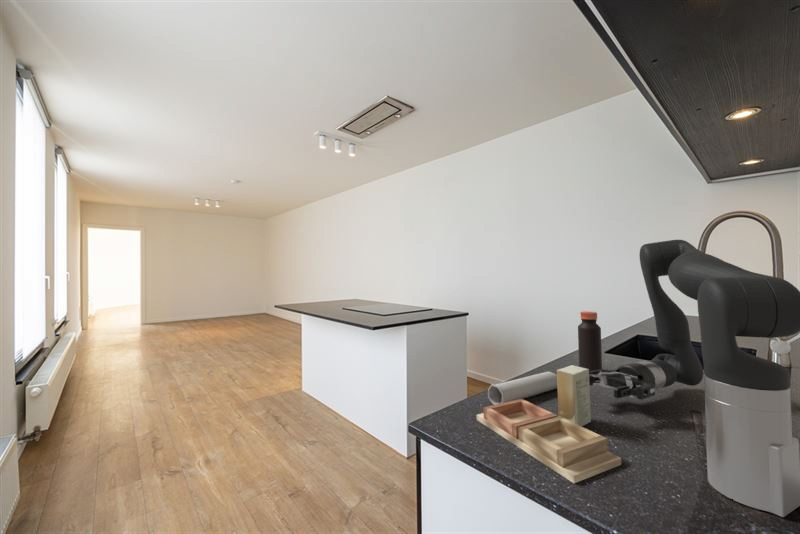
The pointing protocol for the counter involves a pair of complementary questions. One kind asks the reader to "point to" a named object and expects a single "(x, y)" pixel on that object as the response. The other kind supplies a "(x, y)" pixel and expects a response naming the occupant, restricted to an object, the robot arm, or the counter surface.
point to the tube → (522, 387)
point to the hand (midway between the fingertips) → (597, 387)
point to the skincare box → (574, 394)
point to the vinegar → (589, 342)
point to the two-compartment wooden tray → (550, 439)
